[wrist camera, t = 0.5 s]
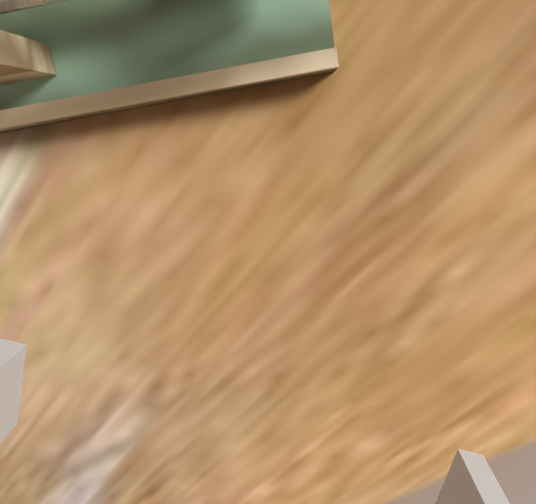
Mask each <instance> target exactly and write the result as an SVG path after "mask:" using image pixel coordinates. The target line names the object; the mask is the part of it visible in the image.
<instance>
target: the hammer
mask: <svg viewBox="0 0 536 504" xmlns="http://www.w3.org/2000/svg"><path fill="white" fill-rule="evenodd" d="M63 1H68V0H0V15H1V14H6V13H10V12H15V11H20V10H25V9H30V8H34V7H39V6H44V5H49V4H54V3H59V2H63Z"/></svg>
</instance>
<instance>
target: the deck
mask: <svg viewBox="0 0 536 504" xmlns="http://www.w3.org/2000/svg"><path fill="white" fill-rule="evenodd" d="M338 67H339V64H338V56H337V48H336V47H335V48H334V40H333V32H332V25H331V17H330V9H329V1H328V0H68V1H63V2H59V3H54V4H49V5H44V6H39V7H34V8H30V9H25V10H20V11H15V12H10V13H6V14H1V15H0V133H2V132H7V131H13V130H18V129H24V128H29V127H34V126H40V125H45V124H51V123H56V122H62V121H67V120H73V119H78V118H84V117H89V116H94V115H100V114H105V113H111V112H116V111H122V110H127V109H133V108H138V107H144V106H149V105H154V104H160V103H165V102H171V101H176V100H182V99H187V98H193V97H198V96H204V95H209V94H214V93H220V92H225V91H231V90H236V89H242V88H247V87H253V86H258V85H264V84H269V83H274V82H280V81H285V80H291V79H296V78H302V77H307V76H313V75H318V74H324V73H329V72H334V71H336V69H337V68H338Z"/></svg>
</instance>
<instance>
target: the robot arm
mask: <svg viewBox="0 0 536 504" xmlns="http://www.w3.org/2000/svg"><path fill="white" fill-rule="evenodd" d="M26 347H27V345H26V344H22V343H18V342H13V341H9V340H5V339H0V443H1V442H2V441H3V439H4V438H5V437H6V436H7V435H8V434H9V433H10V432H11V430H12V429H13V428H14V427H15V426H16V425H17V424H18V417H19V408H20V400H21V391H22V382H23V373H24V364H25V355H26ZM435 504H509V502H508V500H507V498H506V496H505V495H504V493H503V491H502V489H501V487H500V485H499V483H498V482H497V480H496V478H495V476H494V474H493V473H492V471H491V469H490V467H489V465H488V464H487V462H486V460H485V458H484V456H483V455H481V454H477V453H473V452H469V451H464V450H460V449H458V450H457V453H456V455H455V458H454V460H453V462H452V465H451V467H450V470H449V472H448V474H447V477H446V479H445V482H444V484H443V487H442V490H441V491H440V494H439V496H438V499H437V501H436V503H435Z"/></svg>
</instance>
